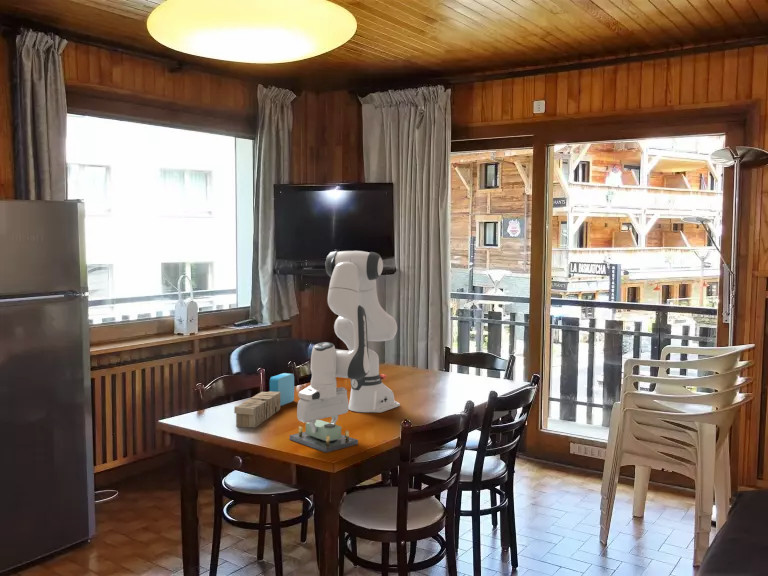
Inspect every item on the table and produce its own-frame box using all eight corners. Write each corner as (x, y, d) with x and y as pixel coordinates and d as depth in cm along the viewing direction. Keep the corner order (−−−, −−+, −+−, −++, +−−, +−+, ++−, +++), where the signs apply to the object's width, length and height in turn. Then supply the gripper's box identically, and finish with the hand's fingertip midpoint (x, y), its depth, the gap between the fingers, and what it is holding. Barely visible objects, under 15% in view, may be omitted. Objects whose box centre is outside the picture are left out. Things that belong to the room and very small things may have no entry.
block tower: (262, 411, 291) (233, 428, 263) (262, 390, 291) (233, 405, 262) (281, 412, 290) (253, 429, 261) (281, 391, 289) (253, 406, 261)
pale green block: (319, 430, 252) (319, 417, 252) (341, 438, 243) (341, 424, 243) (305, 434, 248) (305, 421, 247) (327, 441, 239) (327, 428, 239)
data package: (285, 399, 307) (285, 372, 306) (294, 401, 305) (294, 373, 304) (269, 405, 296) (269, 377, 295) (278, 407, 294) (278, 378, 293)
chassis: (321, 432, 258) (321, 419, 257) (357, 444, 243) (358, 431, 243) (289, 439, 248) (289, 426, 248) (325, 452, 234) (326, 439, 233)
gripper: (340, 384, 254) (340, 422, 255) (294, 393, 240) (294, 433, 241) (352, 387, 249) (352, 426, 250) (305, 396, 235) (305, 437, 236)
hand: (323, 430), depth 245 cm, fingers open, 6 cm apart
